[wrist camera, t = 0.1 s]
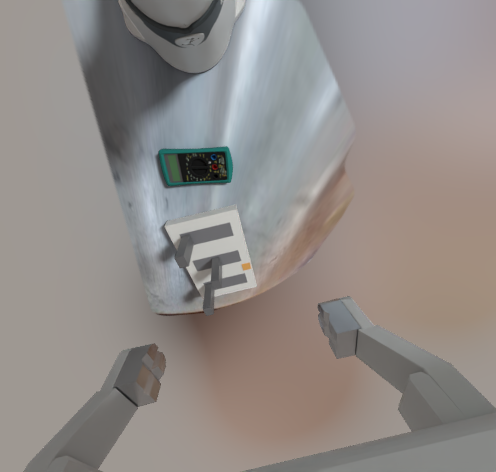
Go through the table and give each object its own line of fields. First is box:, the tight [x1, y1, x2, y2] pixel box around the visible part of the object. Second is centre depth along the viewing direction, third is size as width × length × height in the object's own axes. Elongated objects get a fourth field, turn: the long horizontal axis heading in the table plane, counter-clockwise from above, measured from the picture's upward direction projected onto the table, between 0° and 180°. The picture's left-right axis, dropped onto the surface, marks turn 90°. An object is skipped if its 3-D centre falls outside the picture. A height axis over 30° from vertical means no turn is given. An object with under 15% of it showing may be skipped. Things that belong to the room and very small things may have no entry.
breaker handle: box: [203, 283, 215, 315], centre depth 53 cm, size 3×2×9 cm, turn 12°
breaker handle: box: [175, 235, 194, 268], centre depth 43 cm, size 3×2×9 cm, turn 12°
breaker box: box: [164, 204, 257, 299], centre depth 53 cm, size 28×18×3 cm, turn 12°
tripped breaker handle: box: [211, 257, 222, 290], centre depth 48 cm, size 3×2×9 cm, turn 12°
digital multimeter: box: [159, 147, 233, 186], centre depth 40 cm, size 7×15×3 cm, turn 91°
